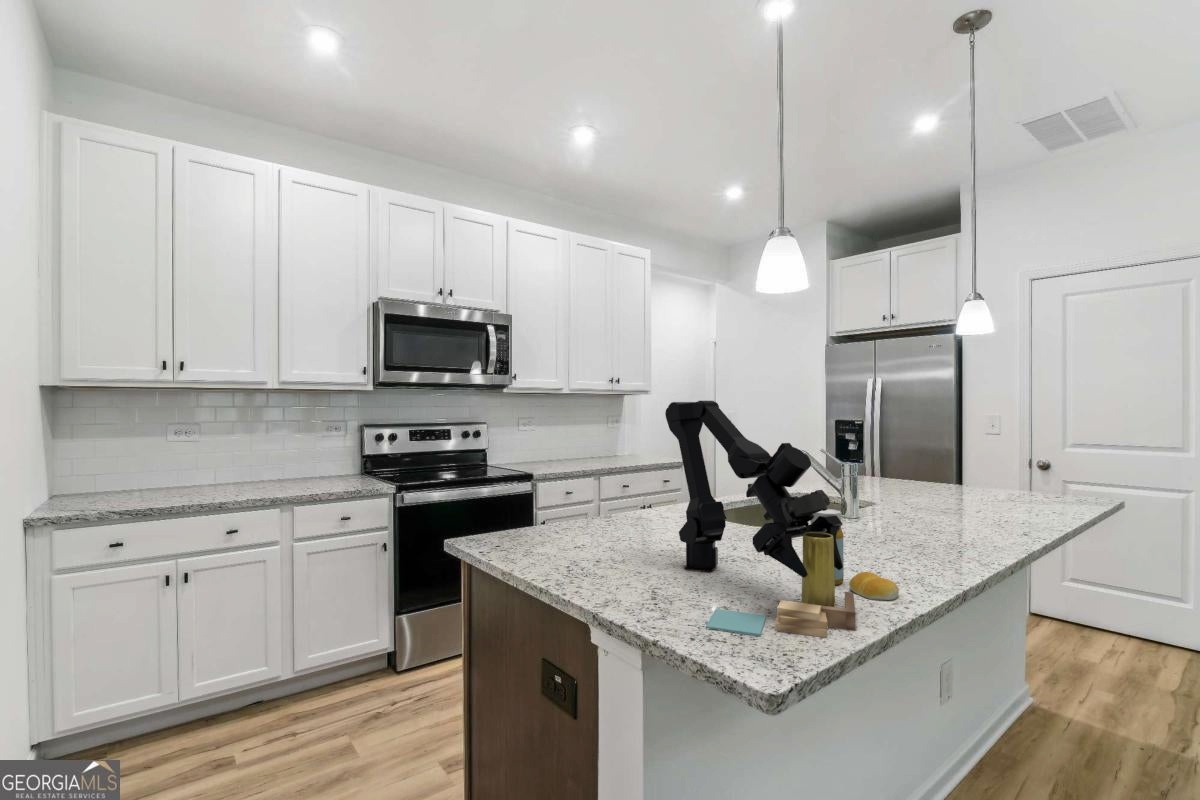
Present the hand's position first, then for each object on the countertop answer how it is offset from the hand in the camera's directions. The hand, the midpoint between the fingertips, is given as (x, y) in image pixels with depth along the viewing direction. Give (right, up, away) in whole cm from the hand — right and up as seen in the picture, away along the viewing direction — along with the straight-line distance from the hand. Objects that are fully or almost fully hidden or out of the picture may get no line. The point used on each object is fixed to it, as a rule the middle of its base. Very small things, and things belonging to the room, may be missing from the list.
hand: (823, 572), depth 104 cm
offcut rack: (-2, -8, -2) cm, 8 cm away
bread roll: (+15, -8, +12) cm, 21 cm away
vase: (-1, -8, +1) cm, 8 cm away
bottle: (+8, -8, +20) cm, 23 cm away
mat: (-16, -8, -3) cm, 18 cm away
